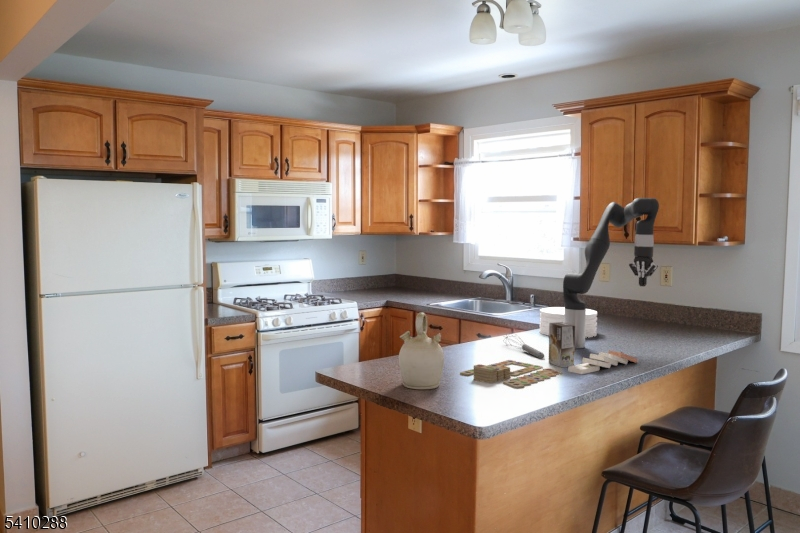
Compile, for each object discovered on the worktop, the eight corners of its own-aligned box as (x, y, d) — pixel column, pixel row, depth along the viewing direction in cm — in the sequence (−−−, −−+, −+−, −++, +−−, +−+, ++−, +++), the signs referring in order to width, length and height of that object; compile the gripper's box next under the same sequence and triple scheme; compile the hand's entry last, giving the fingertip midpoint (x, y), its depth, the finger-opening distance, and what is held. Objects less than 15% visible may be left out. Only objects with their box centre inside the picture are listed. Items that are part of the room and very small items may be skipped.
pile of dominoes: (518, 391, 212) (518, 374, 212) (454, 377, 231) (454, 362, 231) (569, 373, 238) (570, 359, 237) (508, 362, 256) (508, 348, 256)
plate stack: (587, 340, 303) (588, 316, 303) (531, 334, 318) (532, 311, 317) (602, 332, 327) (603, 309, 326) (549, 326, 342) (550, 305, 341)
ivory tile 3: (610, 368, 245) (596, 365, 237) (595, 365, 249) (582, 362, 241) (611, 363, 245) (597, 360, 237) (596, 360, 249) (583, 357, 242)
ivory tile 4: (599, 370, 242) (581, 374, 235) (586, 367, 246) (568, 371, 240) (599, 365, 241) (581, 369, 235) (586, 363, 246) (568, 366, 239)
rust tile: (636, 363, 255) (621, 357, 248) (623, 360, 260) (608, 354, 253) (637, 358, 255) (622, 352, 249) (624, 355, 260) (609, 350, 253)
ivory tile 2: (617, 366, 249) (603, 360, 241) (603, 363, 253) (589, 357, 246) (618, 361, 249) (604, 356, 242) (604, 358, 253) (590, 353, 246)
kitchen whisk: (538, 361, 258) (538, 345, 257) (500, 345, 290) (500, 331, 290) (551, 360, 260) (551, 344, 259) (512, 345, 292) (512, 331, 291)
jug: (389, 386, 214) (390, 313, 212) (414, 377, 227) (415, 308, 225) (428, 394, 206) (429, 317, 204) (452, 384, 219) (453, 311, 217)
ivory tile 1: (626, 364, 252) (611, 359, 245) (613, 361, 257) (598, 356, 250) (627, 360, 252) (612, 354, 245) (614, 357, 257) (599, 351, 250)
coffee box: (575, 366, 248) (576, 325, 246) (561, 367, 245) (562, 326, 244) (561, 361, 256) (562, 321, 255) (547, 362, 254) (548, 322, 253)
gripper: (663, 245, 266) (661, 287, 268) (635, 244, 277) (634, 284, 278) (652, 246, 262) (651, 288, 263) (625, 245, 273) (623, 285, 274)
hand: (642, 286), depth 271 cm, fingers closed
